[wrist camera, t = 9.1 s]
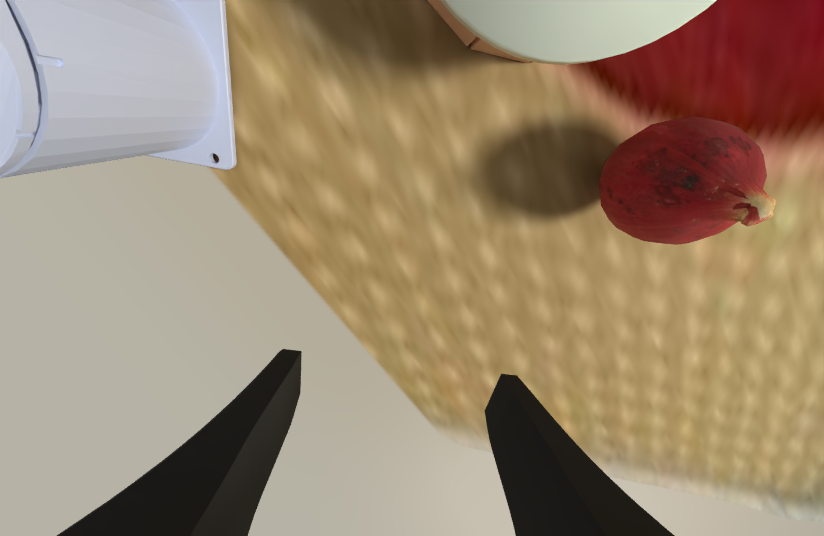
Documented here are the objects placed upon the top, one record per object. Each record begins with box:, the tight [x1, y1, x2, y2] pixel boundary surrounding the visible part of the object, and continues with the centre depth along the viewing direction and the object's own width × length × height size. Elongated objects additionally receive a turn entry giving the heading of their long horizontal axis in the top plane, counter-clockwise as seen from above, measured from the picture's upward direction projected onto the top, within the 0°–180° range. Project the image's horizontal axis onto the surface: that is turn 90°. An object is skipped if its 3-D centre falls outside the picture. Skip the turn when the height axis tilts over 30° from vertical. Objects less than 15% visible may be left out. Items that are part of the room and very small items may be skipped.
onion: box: [599, 116, 777, 245], centre depth 14 cm, size 6×6×8 cm
